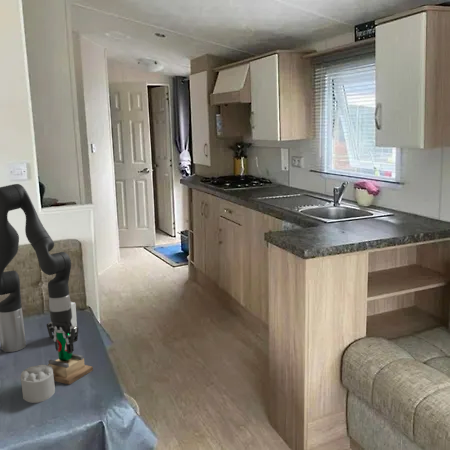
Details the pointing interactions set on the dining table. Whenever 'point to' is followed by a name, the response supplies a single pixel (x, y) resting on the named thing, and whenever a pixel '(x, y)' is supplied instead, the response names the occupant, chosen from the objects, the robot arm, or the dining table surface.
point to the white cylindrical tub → (37, 383)
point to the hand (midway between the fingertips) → (64, 351)
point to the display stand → (69, 369)
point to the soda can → (62, 346)
